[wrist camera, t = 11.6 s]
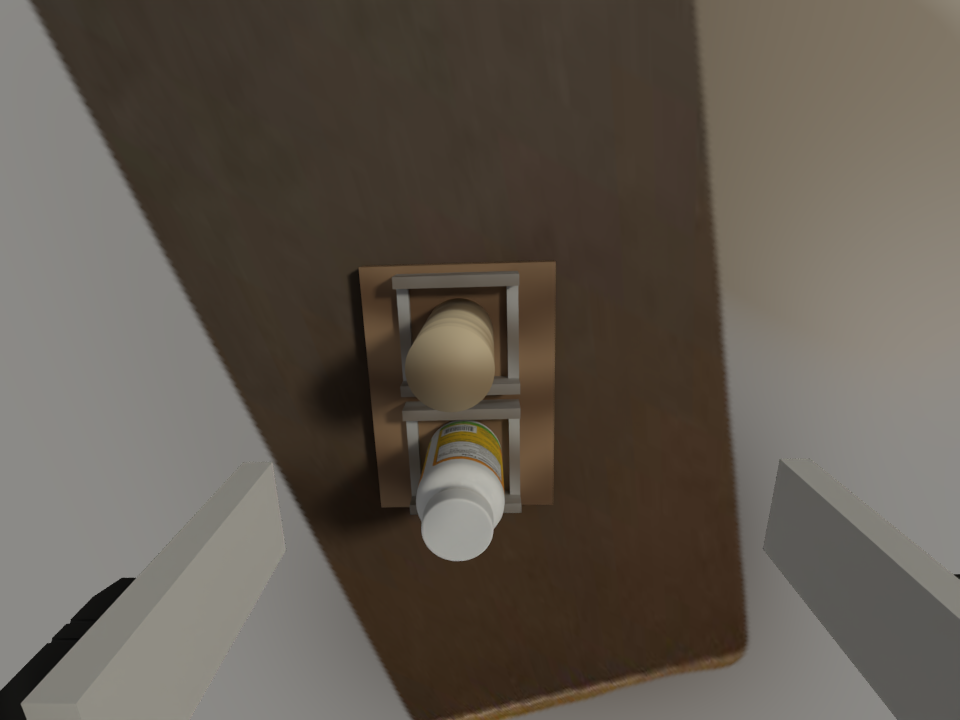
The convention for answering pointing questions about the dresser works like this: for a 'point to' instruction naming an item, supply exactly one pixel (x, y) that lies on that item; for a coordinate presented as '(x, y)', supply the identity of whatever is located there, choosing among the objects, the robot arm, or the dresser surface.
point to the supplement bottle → (461, 490)
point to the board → (517, 381)
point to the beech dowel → (452, 357)
